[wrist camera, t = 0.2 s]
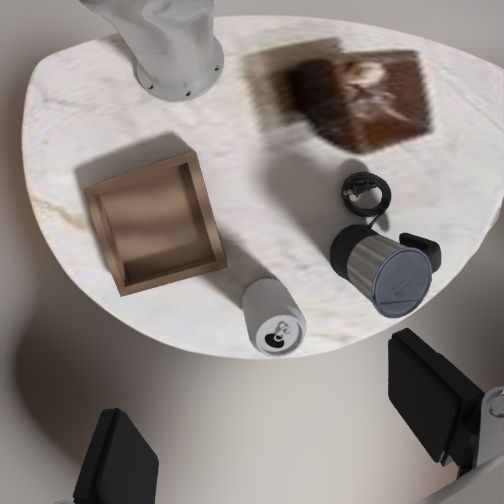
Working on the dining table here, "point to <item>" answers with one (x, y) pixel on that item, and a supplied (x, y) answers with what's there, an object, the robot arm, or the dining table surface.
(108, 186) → the tray
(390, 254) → the milk frother
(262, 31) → the dining table surface
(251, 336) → the can
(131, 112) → the dining table surface
